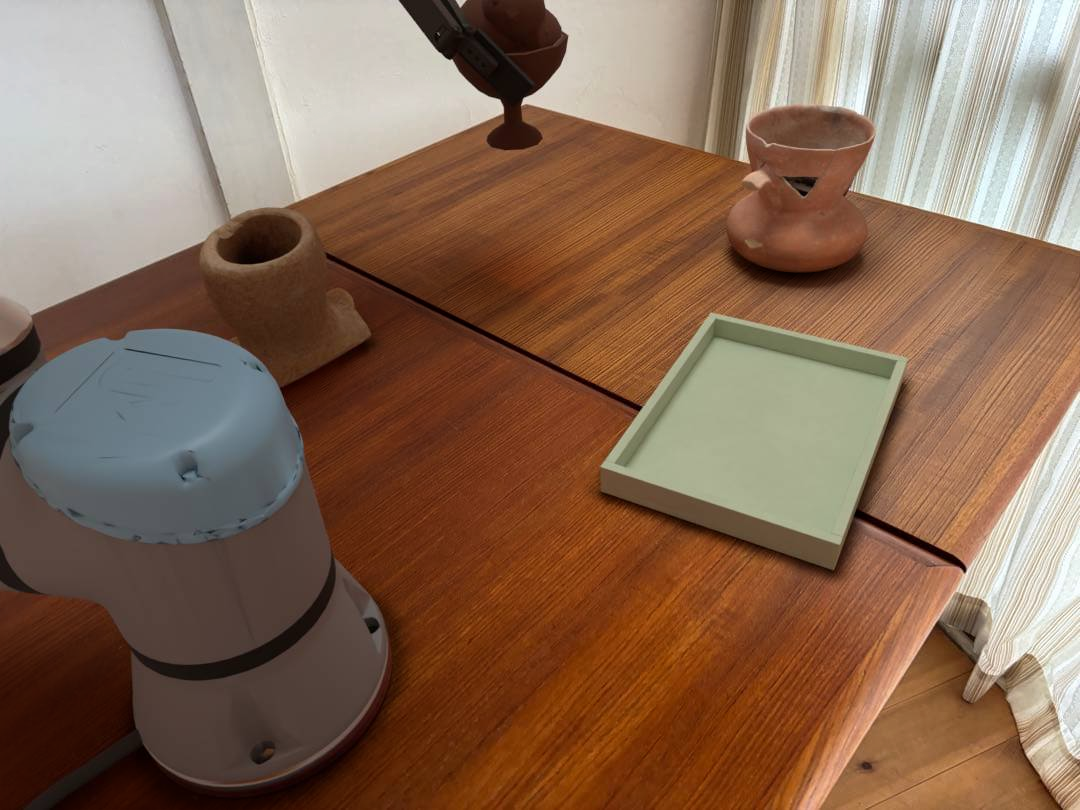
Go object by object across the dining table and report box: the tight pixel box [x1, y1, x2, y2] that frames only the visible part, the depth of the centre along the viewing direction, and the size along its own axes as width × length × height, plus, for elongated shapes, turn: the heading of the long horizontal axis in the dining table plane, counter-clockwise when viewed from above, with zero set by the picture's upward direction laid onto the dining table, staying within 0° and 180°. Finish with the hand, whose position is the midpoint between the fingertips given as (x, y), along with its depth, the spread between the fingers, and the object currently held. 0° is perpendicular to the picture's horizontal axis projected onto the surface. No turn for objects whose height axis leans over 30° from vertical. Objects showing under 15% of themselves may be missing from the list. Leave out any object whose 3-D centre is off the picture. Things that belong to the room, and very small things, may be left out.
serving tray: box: [599, 312, 909, 571], centre depth 68 cm, size 24×18×3 cm
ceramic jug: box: [725, 103, 877, 273], centre depth 88 cm, size 18×14×14 cm
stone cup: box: [198, 206, 372, 388], centre depth 76 cm, size 15×12×15 cm
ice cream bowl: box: [451, 0, 569, 151], centre depth 78 cm, size 11×11×15 cm
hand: (538, 75), depth 79 cm, fingers closed on ice cream bowl, 11 cm apart
